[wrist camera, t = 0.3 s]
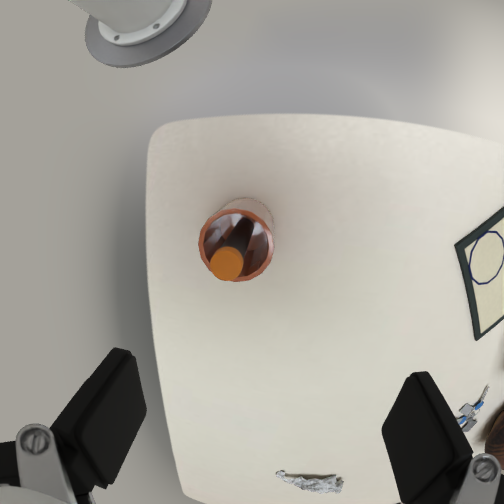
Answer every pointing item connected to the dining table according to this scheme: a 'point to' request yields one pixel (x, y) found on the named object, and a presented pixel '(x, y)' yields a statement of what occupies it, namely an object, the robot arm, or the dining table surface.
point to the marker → (232, 252)
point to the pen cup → (259, 243)
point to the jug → (496, 440)
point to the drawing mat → (484, 273)
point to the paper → (315, 483)
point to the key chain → (466, 411)
